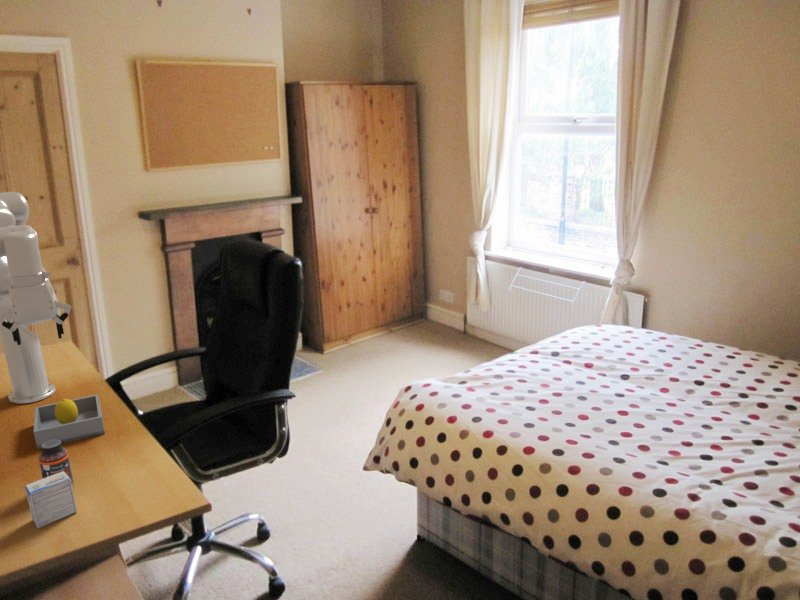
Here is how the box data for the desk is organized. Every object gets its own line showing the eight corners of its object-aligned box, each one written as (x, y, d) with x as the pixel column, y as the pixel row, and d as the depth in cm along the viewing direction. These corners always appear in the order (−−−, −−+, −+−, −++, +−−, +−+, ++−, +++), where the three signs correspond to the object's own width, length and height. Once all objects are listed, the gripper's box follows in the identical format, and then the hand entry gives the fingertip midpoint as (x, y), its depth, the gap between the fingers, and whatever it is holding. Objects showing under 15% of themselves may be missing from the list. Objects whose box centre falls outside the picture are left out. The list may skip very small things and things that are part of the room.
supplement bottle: (54, 497, 144) (45, 453, 140) (39, 489, 147) (30, 446, 143) (79, 484, 149) (70, 441, 145) (64, 477, 152) (55, 434, 148)
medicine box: (71, 504, 141) (64, 469, 139) (78, 512, 138) (70, 478, 135) (32, 520, 136) (23, 484, 133) (38, 529, 133) (29, 493, 130)
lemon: (84, 422, 175) (79, 396, 173) (67, 431, 171) (61, 404, 168) (70, 419, 178) (65, 393, 175) (53, 428, 173) (47, 401, 170)
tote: (38, 423, 178) (35, 407, 176) (101, 409, 185) (98, 394, 183) (37, 449, 164) (33, 432, 163) (104, 433, 171) (101, 417, 170)
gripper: (64, 271, 172) (75, 329, 178) (-11, 279, 164) (3, 340, 170) (66, 278, 166) (76, 339, 171) (-12, 288, 158) (1, 351, 164)
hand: (39, 340), depth 171 cm, fingers open, 9 cm apart
